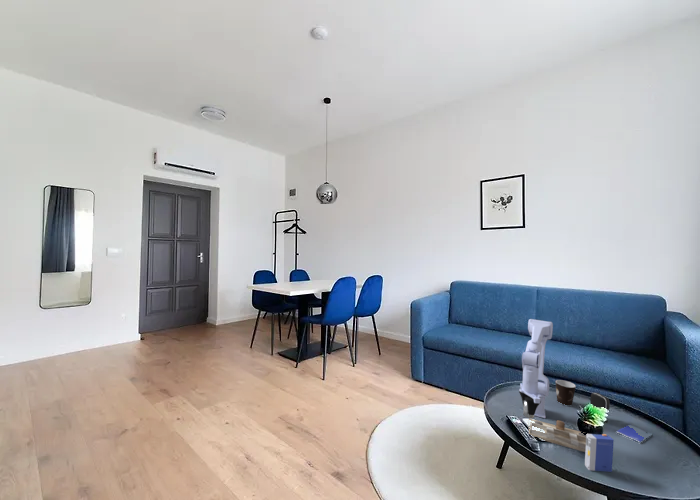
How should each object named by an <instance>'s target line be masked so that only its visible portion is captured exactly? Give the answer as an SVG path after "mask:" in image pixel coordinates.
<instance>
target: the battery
mask: <svg viewBox="0 0 700 500" xmlns="http://www.w3.org/2000/svg"><path fill="white" fill-rule="evenodd" d="M589 398H590V401H589V403H590V404H593V405H594V406H596V407H604V408H606V409H607V411H608V410H610V407H611V406H610V399H609V397H607V396H606V395H603V394H600V393H598V392H593V393H591V394H590V397H589ZM590 404H589V405H590ZM607 422H608V420H607V421H606V422H605V423H607Z"/></svg>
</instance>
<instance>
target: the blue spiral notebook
mask: <svg viewBox="0 0 700 500" xmlns="http://www.w3.org/2000/svg"><path fill="white" fill-rule="evenodd" d="M625 426H626V427H625ZM625 426H623V427H624V428H623V427H622V428H619V429H618V430H616V431H615V433H616V432H617V433H620V434H622V435H624V436H626V437H629V438H631V439H634V440H636V441H638V442H641V441H643V439H644V437H642V436H640V435H638V433H636V431H635V430H634V429H633V428H630V427H629V426H627V425H625ZM617 433H616V434H617ZM624 436H623V437H624ZM626 437H625V438H626ZM631 439H630V440H631Z"/></svg>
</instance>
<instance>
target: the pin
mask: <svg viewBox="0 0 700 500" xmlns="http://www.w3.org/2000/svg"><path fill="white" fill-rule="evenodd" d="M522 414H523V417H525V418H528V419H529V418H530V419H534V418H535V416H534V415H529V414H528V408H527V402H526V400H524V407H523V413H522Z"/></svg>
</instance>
